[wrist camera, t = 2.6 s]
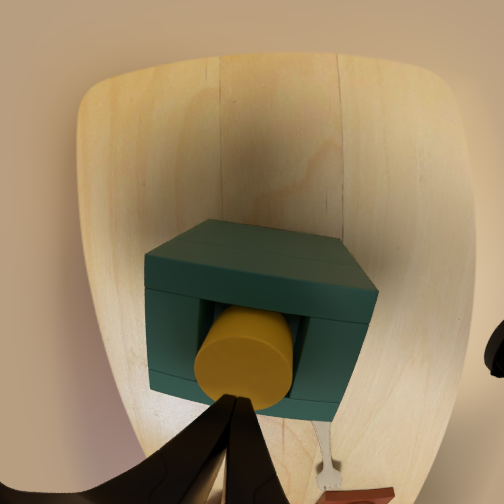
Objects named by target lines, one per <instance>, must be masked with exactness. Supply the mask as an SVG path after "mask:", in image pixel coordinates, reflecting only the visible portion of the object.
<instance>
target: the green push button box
mask: <svg viewBox="0 0 504 504" xmlns="http://www.w3.org/2000/svg"><path fill="white" fill-rule="evenodd" d="M144 286H145V323H146V344H147V359H148V368H149V369H148V371H149V382H150V389H151V390H154V391H158V392H161V393H164V394H168V395H172V396H175V397H179V398H183V399H187V400H190V401H195V402H199V403H203V404H207V405H212V404H213V403H214V402H215V401H214V400H213V399H211V398H210V397H209V396H208V395H206V393H205V392H204V391H203V390H202V389H201V387H200V386H199V384H198V382H197V380H196V377H195V372H194V363H195V359H196V356H197V354H198V352H199V350H200V348H201V346H202V344H203V342H204V341H205V339H206V337H207V335H208V333H209V331H210V329H211V327H212V325H213V323H214V321H215V319H216V318H217V317H218V315H219V314H220V313H221V312H222V311H223V310H225V309H226V308H228V307H230V306H232V305H239V306H245V307H251V308H257V309H263V310H269V311H276V312H279V313H280V314H281V315H282V316H283V317H284V318H285V319H286V320H287V322H288V323H289V325H290V328H291V331H292V335H293V365H292V383H291V386H290V389H289V391H288V392H287V394H286V395H285V396H284V398H282V399H281V400H280V401H279V402H278V403H276V404H274V405H273V406H271V407H268V408H265V409H261V410H255V414H260V415H266V416H273V417H281V418H289V419H299V420H309V421H322V422H332V421H333V418H334V416H335V414H336V412H337V409H338V407H339V405H340V402H341V400H342V398H343V395H344V393H345V391H346V388H347V386H348V383H349V380H350V378H351V375H352V373H353V370H354V367H355V365H356V362H357V359H358V356H359V354H360V351H361V348H362V345H363V342H364V339H365V336H366V333H367V330H368V327H369V323H370V320H371V317H372V314H373V311H374V307H375V304H376V300H377V297H378V293H379V291H378V290H377V288H376V287H375V285H374V284H373V283H372V281H371V280H370V279H369V277H368V276H367V275H366V273H365V272H364V270H363V269H362V268H361V266H360V265H359V264H358V262H357V261H356V260H355V259H354V257H353V256H352V255H351V253H350V252H349V251H348V249H347V248H346V247H345V246H344V244H343V243H342V242H341V240H340V239H337V238H331V237H325V236H319V235H312V234H306V233H300V232H293V231H287V230H280V229H274V228H267V227H260V226H254V225H247V224H240V223H233V222H226V221H218V220H211V219H208V220H206V221H204V222H202V223H201V224H199V225H197V226H195V227H193V228H191V229H189V230H187V231H186V232H184V233H182V234H180V235H178V236H176V237H175V238H173V239H171V240H169V241H167V242H166V243H164V244H162V245H160V246H159V247H157V248H155V249H153V250H151V251H150V252H148V253H146V254H145V262H144Z"/></svg>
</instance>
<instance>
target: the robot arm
mask: <svg viewBox="0 0 504 504" xmlns="http://www.w3.org/2000/svg"><path fill="white" fill-rule="evenodd" d="M490 374H491V376H500V375H504V345H503V347H502V349H501V351H500V353H499V355H498V357H497V360H496V362H495V364H494V366H493V367H492V369H491V371H490ZM225 454H226V457H225ZM224 457H225V468H224V480H223V493H222V504H290V503H289V501H288V499H287V498H286V495H285V493H284V491H283V488H282V486H281V484H280V481H279V478H278V476H277V475H276V474H277V473H276V471H275V468H274V465H273V462H272V460H271V457H270V454H269V451H268V448H267V446H266V443H265V440H264V437H263V434H262V431H261V428H260V425H259V423H258V420H257V417H256V414H255V411H254V408H253V405H252V402H251V399H250V398H247V397H242V396H238V397H237V396H236V395H231V394H223V395H222V396H221V397H220V398H219V399H218V400H217V401H216V402H214V403H213V404H212V405H211V406H210V407H209V408H208V409H207V410H205V411H204V412H203V413H202V414H201V415H200V416H198V417H197V418H196V419H195V420H194V421H193V422H192V423H190V424H189V425H188V426H187V427H186V428H184V429H183V430H182V431H181V432H180V433H178V434H177V435H176V436H175V437H174V438H172V439H171V440H170V441H169V442H167V443H166V444H165V445H164V446H162V447H161V448H160V449H159V450H157V451H156V452H155V453H153V454H152V455H151V456H149V457H148V458H147V459H145V460H144V461H142V462H141V463H140V464H138V465H137V466H135V467H133V468H131V469H130V470H128V471H126V472H124V473H122V474H121V475H119V476H117V477H115V478H113V479H111V480H109V481H107V482H105V483H103V484H101V485H99V486H97V487H94V488H92V489H90V490H87V491H83V492H77V493H41V492H26V491H19V490H15V489H12V488H9V487H7V486H5V485H4V484H2V483H1V482H0V504H205V503H206V500H207V498H208V496H209V493H210V491H211V489H212V486H213V484H214V482H215V479H216V477H217V474H218V472H219V470H220V467H221V465H222V462H223V460H224Z"/></svg>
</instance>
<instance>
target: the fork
mask: <svg viewBox="0 0 504 504" xmlns="http://www.w3.org/2000/svg"><path fill="white" fill-rule="evenodd" d="M311 422H312V424H313V426H314V429H315V432H316V435H317V438H318V440H319V444H320V448H321V453H322V457H323V470H322V471H321V473H320V474H318V476H317V478H316V481H317V486H318V487H319V489H320V490H321V491H325V488H326V489H327V490H328V491H330V485H331V488H332V490H334V489H335V484H336V487H337V489H340V487H341V484H342V474H341V473H340V472H339V471H337V470H335V469H334V468H333V466H332V460H331V448H330V426H331V422H322V421H311ZM324 486H325V488H324Z"/></svg>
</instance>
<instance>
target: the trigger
mask: <svg viewBox="0 0 504 504" xmlns="http://www.w3.org/2000/svg"><path fill="white" fill-rule="evenodd" d="M292 365H293V335H292V331H291V328H290V325H289V323H288V322H287V320H286V319H285V318H284V317H283V316H282V315H281V314H280V313H279V312H276V311H269V310H263V309H257V308H251V307H245V306H239V305H232V306H230V307H228V308H226V309H225V310H223V311H222V312H221V313H220V314H219V315H218V317H217V318H216V319H215V321H214V323H213V325H212V327H211V329H210V331H209V333H208V335H207V337H206V339H205V341H204V342H203V344H202V346H201V348H200V350H199V352H198V354H197V356H196V359H195V363H194V372H195V377H196V380H197V382H198V384H199V386H200V387H201V389H202V390H203V391H204V392H205V393H206V395H208V396H209V397H210V398H211V399H213V400H214V401H215V402H216V401H217V400H218V399H219V398H220V397H221V396H222V395H223V394H231V395H236V396H237V397H238V396H242V397H247V398H250V399H251V402H252V405H253V408H254V411H255V410H261V409H265V408H268V407H271V406H273V405H274V404H276V403H278V402H279V401H280V400H281V399H282V398H284V396H285V395H286V394H287V392H288V391H289V389H290V386H291V383H292Z"/></svg>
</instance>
